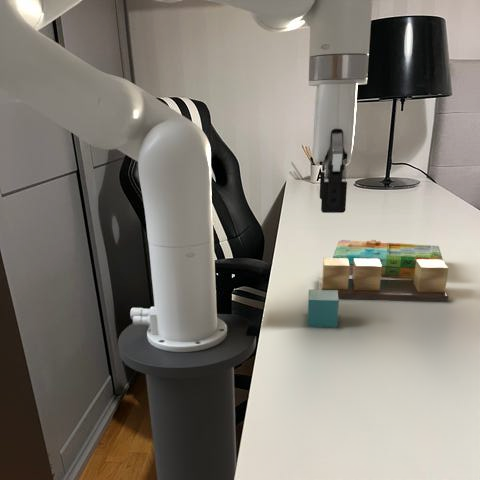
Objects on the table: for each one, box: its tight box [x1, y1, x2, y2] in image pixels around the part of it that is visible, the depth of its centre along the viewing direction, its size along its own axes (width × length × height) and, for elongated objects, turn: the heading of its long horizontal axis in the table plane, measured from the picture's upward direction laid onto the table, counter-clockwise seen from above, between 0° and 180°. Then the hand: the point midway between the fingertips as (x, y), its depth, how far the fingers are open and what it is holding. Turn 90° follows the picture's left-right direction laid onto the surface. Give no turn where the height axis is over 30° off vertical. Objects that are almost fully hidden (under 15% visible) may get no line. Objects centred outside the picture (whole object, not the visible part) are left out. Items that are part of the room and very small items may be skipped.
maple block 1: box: [321, 257, 350, 290], centre depth 89 cm, size 4×4×4 cm
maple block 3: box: [413, 259, 449, 292], centre depth 86 cm, size 4×4×4 cm
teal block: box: [307, 289, 340, 329], centre depth 77 cm, size 4×4×4 cm
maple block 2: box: [351, 259, 382, 291], centre depth 88 cm, size 4×4×4 cm
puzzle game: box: [332, 239, 444, 279], centre depth 99 cm, size 12×5×20 cm
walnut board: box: [317, 277, 449, 303], centre depth 89 cm, size 22×8×1 cm, turn 82°
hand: (331, 205), depth 72 cm, fingers open, 9 cm apart
